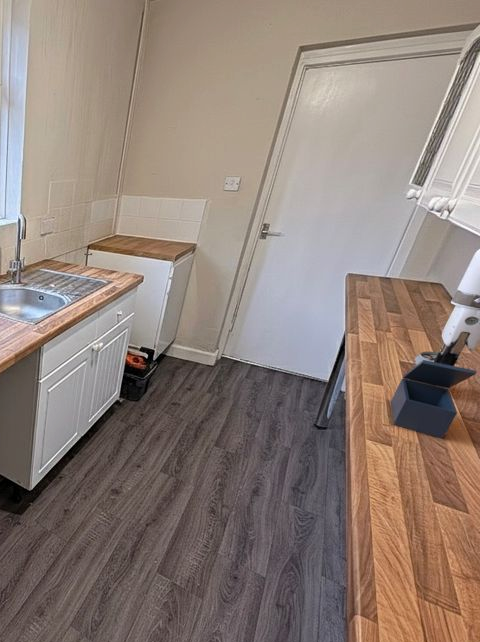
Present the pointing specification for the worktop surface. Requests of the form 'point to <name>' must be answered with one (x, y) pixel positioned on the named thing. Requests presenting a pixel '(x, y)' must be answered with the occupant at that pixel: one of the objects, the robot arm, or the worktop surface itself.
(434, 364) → the lid
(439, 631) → the worktop surface
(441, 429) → the chest
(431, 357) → the food container
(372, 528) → the worktop surface
